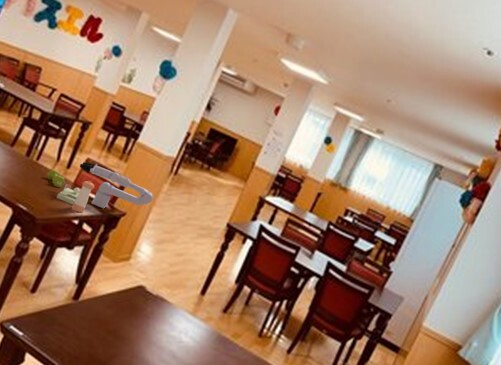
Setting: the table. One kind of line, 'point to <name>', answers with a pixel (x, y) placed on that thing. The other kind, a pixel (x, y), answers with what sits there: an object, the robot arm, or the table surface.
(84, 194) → the pepper shaker
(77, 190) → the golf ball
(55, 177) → the dumbbell
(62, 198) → the pale green box
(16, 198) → the table surface
